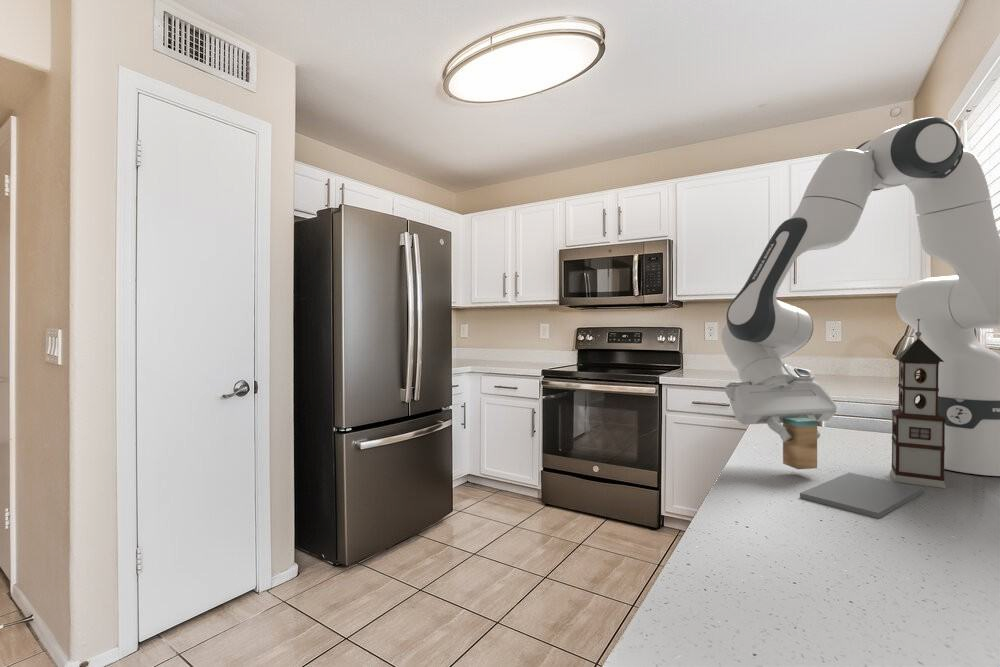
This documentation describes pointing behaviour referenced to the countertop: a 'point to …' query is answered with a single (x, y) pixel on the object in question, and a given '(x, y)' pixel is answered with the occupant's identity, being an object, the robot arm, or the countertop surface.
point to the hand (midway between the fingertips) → (802, 439)
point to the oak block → (801, 443)
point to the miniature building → (918, 419)
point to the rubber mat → (862, 494)
